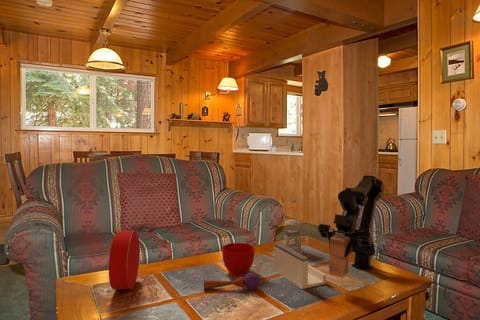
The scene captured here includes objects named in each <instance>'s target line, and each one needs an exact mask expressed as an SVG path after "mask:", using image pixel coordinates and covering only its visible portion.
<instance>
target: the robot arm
mask: <svg viewBox="0 0 480 320" xmlns="http://www.w3.org/2000/svg"><path fill="white" fill-rule="evenodd" d="M384 192H385V185H384V183H383V180H380V179H379V178H377V177H376V176H375V175H371V174H370V175H369V174H368V175H367V174H365V175H363V176H362V179H361V180H360V181H359V182H358V184H357V185H356V186H355V187H345V189H344V190H342V191H339V193H338V194H337V199H338V202H339V204H340V207H341V209H342V210H343V212H342V213H341V214H337V213H335V214H334V218H333V224H335V225H334V226H335V228H336V229H334V228H332V227H331V225H330V224H326V223H319V225H318V227H317V231H318V234H319V235H320V237H321V238H324V239H327V240H328V243H329V244H328V245H329V250H328V251H329V252H330V238H331V237H333V236H335V233H336V232H337V233H342V234H345V237H349V244H348V246H347V249H346V252H345V257H347V256H348V255H350V254H351V253H354V262H353V263H352V264H351V266H352V267H355V268H357V269H360V270H361V271H368V270H372V269H373V268H374V265H371V261H372V259H371V258H372V257H373V256H376V247H375V242H374V238H373V236H372V234H371V231H372V226H373V220H374V215H375V210H376V206H377V202H378V201H379V200H380V199H381V198H382V196H383V193H384ZM360 206H361V207H363V210H362V213H361V208H360ZM361 214H362V215H361ZM360 215H361V218H360V223H359V228H358V229H356V228H357V223H358V221H359V216H360Z"/></svg>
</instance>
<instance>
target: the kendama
mask: <svg viewBox="0 0 480 320" xmlns="http://www.w3.org/2000/svg"><path fill="white" fill-rule="evenodd" d="M231 285H233V286H237V287H238V288H241V289H244V288H246V289H247V290H249V291H256V290H257V289H258V288H259V287H260V285H261V279H260V276H259V275H258V274H257V273H254V272H248V273H246V275H244V277H243V275H240V277H238V278H236V279H235V280H233V281H232V280H210V279H207V280H206V279H204V280H203V290H204V291H207V290H212V289H216V288H221V287H227V286H231Z"/></svg>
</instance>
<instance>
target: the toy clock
mask: <svg viewBox="0 0 480 320" xmlns="http://www.w3.org/2000/svg"><path fill="white" fill-rule="evenodd" d="M140 251H141V250H140V237H139V234H138V231H136V230H117V231H116V232H115V234H114V236H113V238H112V242H111V245H110V250H109V255H108V256H109V257H108V279H109V284H110V287H111V289H112V290H133V289H134V287H135V285H136V282H137V278H138V272H139V266H140V265H139V264H140Z"/></svg>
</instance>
